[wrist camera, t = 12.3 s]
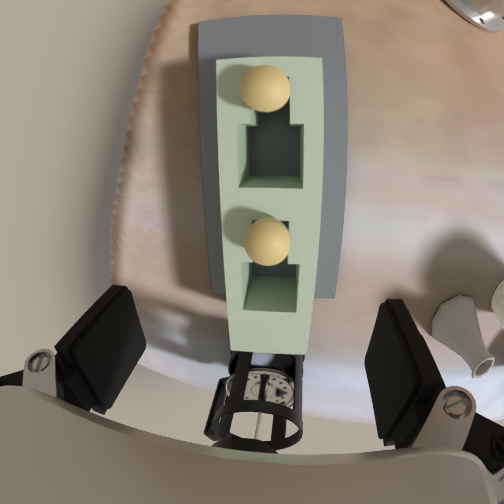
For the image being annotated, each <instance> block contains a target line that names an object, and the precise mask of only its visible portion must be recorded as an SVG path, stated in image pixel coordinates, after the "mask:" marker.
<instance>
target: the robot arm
mask: <svg viewBox="0 0 504 504" xmlns="http://www.w3.org/2000/svg"><path fill="white" fill-rule="evenodd" d="M445 1H446V2H447V3H448V4H449V5H450V6H451V7H452V8H453V9H454V10H455V11H456V12H457V13H458V14H460V15H461V16H462V17H463V18H465V19H466V20H467V21H469V22H470V23H472V24H473V25H475V26H477V27H479V28H480V29H483V30H486V31H489V32H497V31H500V30H503V29H504V0H445ZM54 347H55V349H56V351H57V354H56V355H55V354H54V353H53V352H52V351H51V350H49V349H40V350H38V351H35V352H34V353H32V354H31V355H30V356H29V357H28V358H27V360H26V361H25V365H24V370H21V371H18V372H15V373H12V374H8V375H5V376H2V377H0V504H504V427H503V426H501V425H499V424H497V423H495V422H493V421H491V420H489V419H487V418H485V417H483V416H482V415H480V414H478V413H476V402H475V399H474V397H473V395H472V394H471V393H470V392H469V391H468V390H466V389H464V388H462V387H459V386H450V387H447V388H446V386H445V384H444V381H443V379H442V377H441V374H440V372H439V370H438V368H437V365H436V363H435V361H434V359H433V357H432V354H431V352H430V350H429V348H428V346H427V344H426V342H425V340H424V338H423V336H422V335H421V334H420V333H419V331H418V329H417V327H416V325H415V323H414V321H413V319H412V317H411V315H410V313H409V311H408V309H407V307H406V306H405V304H404V302H403V300H402V299H387V300H386V301H385V303H381V305H380V307H379V311H378V315H377V319H376V322H375V326H374V330H373V333H372V337H371V340H370V343H369V346H368V350H367V353H366V356H365V369H366V374H367V379H368V383H369V388H370V393H371V398H372V403H373V409H374V414H375V420H376V426H377V432H378V437H379V439H383V442H384V446H390V445H395V449H393V450H382V451H374V452H364V453H349V454H323V455H294V454H273V453H260V452H249V451H240V450H232V449H225V448H218V447H212V446H206V445H201V444H196V443H191V442H186V441H181V440H176V439H173V438H169V437H165V436H161V435H157V434H153V433H149V432H146V431H143V430H139V429H136V428H133V427H130V426H127V425H123V424H120V423H118V422H115V421H112V420H109V419H106V418H104V417H101V416H99V415H96V414H93V413H91V412H89V411H90V410H91V408H92V409H93V411H95V412H98V413H101V414H103V415H104V414H105V412H106V410H107V409H110V408H111V407H112V405H113V403H114V402H115V400H116V398H117V396H118V395H119V393H120V391H121V389H122V388H123V386H124V384H125V383H126V381H127V379H128V378H129V376H130V374H131V372H132V371H133V369H134V367H135V366H136V364H137V362H138V361H139V359H140V357H141V356H142V354H143V352H144V351H145V349H146V340H145V337H144V334H143V331H142V327H141V324H140V321H139V317H138V314H137V311H136V307H135V303H134V300H133V296H132V293H131V291H130V290H128V288H127V287H126V286H120V285H112V286H111V287H110V288H109V289H108V290H107V291H106V292H105V293H104V294H103V295H102V296H101V297H100V298H99V299H98V300H97V301H96V302H95V303H94V304H93V305H92V306H91V307H90V308H89V309H88V310H87V311H86V312H85V313H84V314H83V316H82V317H81V318H80V319H79V320H78V321H77V322H76V323H75V324H74V325H73V326H72V327H71V328H70V330H69V331H68V332H67V333H66V334H65V335H64V336H63V337H62V339H61V340H60V341H59V342H58V343H57V344H56V345H55V346H54Z"/></svg>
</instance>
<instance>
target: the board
mask: <svg viewBox="0 0 504 504" xmlns="http://www.w3.org/2000/svg"><path fill="white" fill-rule="evenodd" d="M272 56H288V57H315V58H322V66H323V98H324V151H323V185H322V206H321V223H320V237H319V250H318V262H317V273H316V283H315V292H314V298H335V293H336V285H337V278H338V270H339V262H340V253H341V243H342V233H343V222H344V209H345V194H346V174H347V136H348V117H347V80H346V62H345V48H344V37H343V27H342V18H336V17H326V16H311V15H257V16H243V17H232V18H223V19H215V20H208V21H202V22H198V88H199V123H200V146H201V165H202V182H203V196H204V210H205V223H206V235H207V246H208V257H209V267H210V277H211V286H212V294H226V286H225V272H224V257H223V241H222V224H221V206H220V185H219V161H218V132H217V88H216V60H220V59H231V58H245V57H272ZM239 91H240V95H241V97H242V99H243V101H244V102H245V103H246V104H247V105H248V106H250V107H251V108H252V109H254V110H256V111H259V127H249V151H250V175H271V176H300V127H290V109H289V96H290V83H289V80H288V78H287V76H286V75H285V73H284V72H283V71H281V70H280V69H278V68H277V67H274V66H271V65H259V66H256V67H253V68H251V69H250V70H248V71H247V72H246V73H245V74H244V75H243V77H242V79H241V81H240V85H239ZM244 247H245V251H246V253H247V255H248V256H249V257H250V259H251V260H253V263H252V276H274V277H296V265H297V264H288V253H289V250H290V234H289V221H279V220H277V219H274V218H262V219H259V220H257V221H255V222H254V223H253V224H252V225H251V226H250V228H249V230H248V232H247V234H246V237H245V240H244Z"/></svg>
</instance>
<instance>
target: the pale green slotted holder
mask: <svg viewBox="0 0 504 504" xmlns="http://www.w3.org/2000/svg"><path fill="white" fill-rule="evenodd" d="M259 65H271V66H274V67H277V68H278V69H280V70H281V71H283V72H284V73H285V75H286V76H287V78H288V80H289V83H290V96H289V109H290V127H300V176H271V175H250V151H249V127H259V111H256V110H254V109H252V108H251V107H250V106H248V105H247V104H246V103H245V102H244V101H243V99H242V97H241V95H240V91H239V85H240V81H241V79H242V77H243V75H244V74H245V73H246V72H247V71H248V70H250V69H251V68H253V67H256V66H259ZM216 88H217V132H218V161H219V185H220V206H221V224H222V241H223V257H224V272H225V286H226V299H227V312H228V324H229V336H230V347H231V350H234V351H246V352H259V353H276V354H300V355H306V354H307V348H308V340H309V333H310V326H311V318H312V310H313V301H314V292H315V283H316V273H317V262H318V250H319V237H320V223H321V206H322V185H323V151H324V98H323V66H322V58H315V57H288V56H272V57H245V58H231V59H220V60H216ZM262 218H274V219H277V220H279V221H289V234H290V250H289V253H288V264H297V265H296V277H274V276H252V263H253V260H251V259H250V257H249V256H248V255H247V253H246V251H245V247H244V240H245V237H246V234H247V232H248V230H249V228H250V226H251V225H252V224H253V223H254V222H255V221H257V220H259V219H262Z"/></svg>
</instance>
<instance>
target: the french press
mask: <svg viewBox="0 0 504 504" xmlns="http://www.w3.org/2000/svg"><path fill="white" fill-rule="evenodd" d="M252 354H253V352H246V351H234V350H231V358H230V362H229V368H228V369H229V374H230V376H229V377H225V378H222V379H220V380H219V382H218V385H217V389H216V392H215V396H214V399H213V402H212V406H211V409H210V413H209V416H208V420H207V423H206V427H205V430H204V434H205V435H206V436H207V437H208V438H210V439H211V440H213V441H218V442H216V443H214V444H213V445H212V447H218V448H225V449H232V450H240V451H249V452H260V453H273V454H278V453H277V452H276V451H275V450H280V449H284V448H287V447H290V446H292V445H294V444H296V443H297V442H298V441H300V439H301V438H302V433H303V422H302V377H303V362H304V358H305V355H300V354H289V355H290V356H292V357H293V358H294V361H293V363H292V365H291V366H290V367H289V368H287V369H286V370H284V371H283V370H280V369H277V368H273V367H267V366H250V365H251V360H252ZM226 394H227V396H226ZM225 398H226V400H225ZM224 402H225V404H224ZM292 405H293V410H292V409H291V408H289V407H291V406H292ZM236 412H258V419H257V426H256V432H255V439H248V438H241V437H239V436H236V435H234V434H231V433H230V427H231V423H232V418H233V414H234V413H236ZM262 413H267V414H272V415H273V425H272V434H271V441H260V440H258V436H259V429H260V422H261V414H262ZM220 417H221V420H220ZM286 420H290V421H291V422H293V423H294V424H295V425H297V427H298V428H299V430H298V431H297V432H296V433H295V434H293V435H292V436H290V437H287V438H285V433H286ZM219 421H220V424H219Z"/></svg>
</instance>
